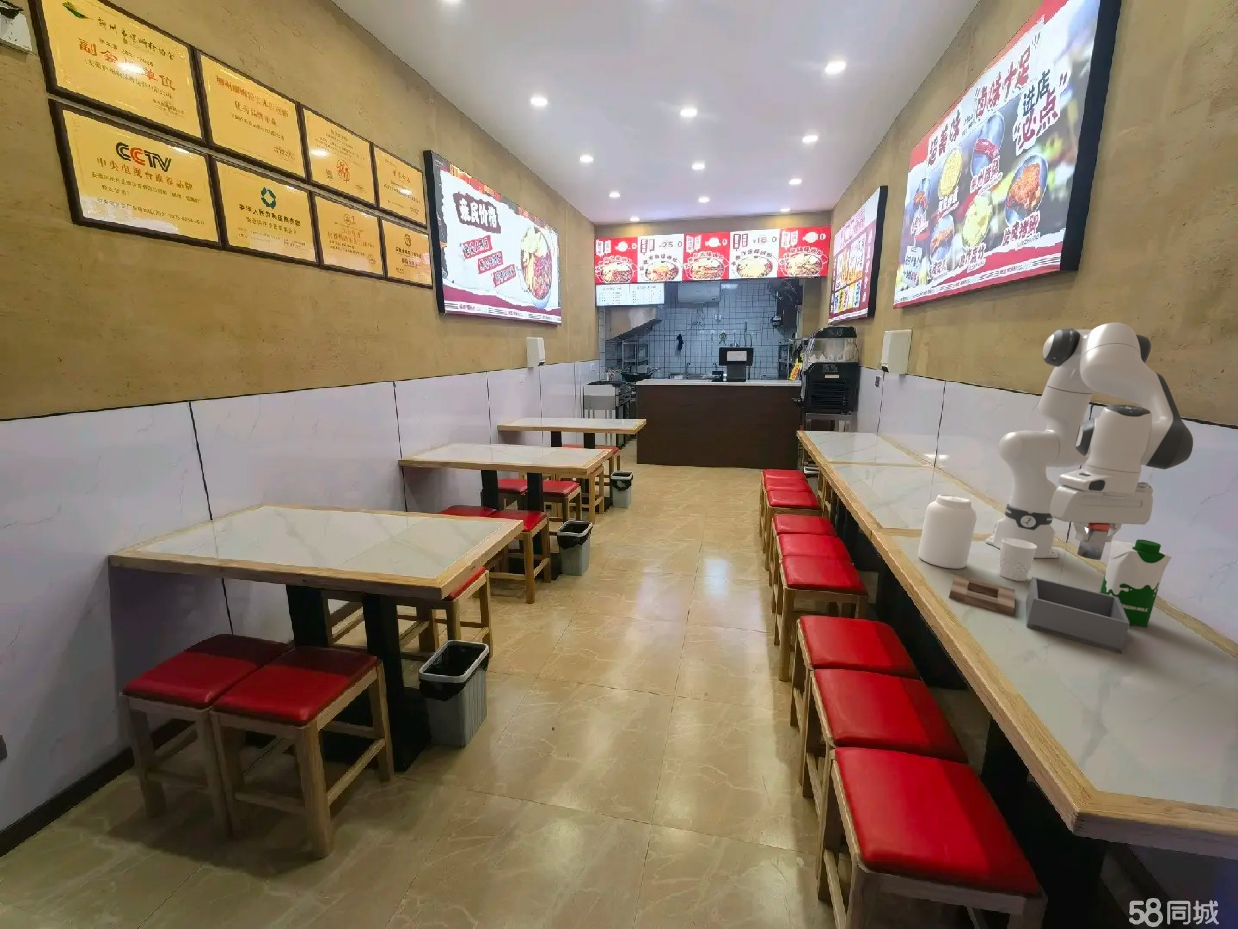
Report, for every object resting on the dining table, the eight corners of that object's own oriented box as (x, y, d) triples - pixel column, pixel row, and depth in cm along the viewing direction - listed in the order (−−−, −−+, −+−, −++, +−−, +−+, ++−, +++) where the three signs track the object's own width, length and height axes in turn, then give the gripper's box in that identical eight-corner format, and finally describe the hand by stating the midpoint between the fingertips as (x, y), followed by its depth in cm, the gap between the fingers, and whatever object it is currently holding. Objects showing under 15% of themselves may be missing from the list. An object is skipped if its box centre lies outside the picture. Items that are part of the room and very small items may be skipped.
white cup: (1035, 584, 141) (1043, 550, 139) (1003, 580, 142) (1011, 546, 140) (1019, 572, 148) (1027, 539, 146) (989, 568, 150) (996, 536, 148)
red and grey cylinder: (1088, 553, 117) (1097, 519, 115) (1105, 560, 113) (1115, 525, 111) (1072, 552, 117) (1080, 519, 115) (1088, 559, 113) (1098, 525, 111)
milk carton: (1107, 622, 121) (1130, 542, 117) (1087, 605, 130) (1108, 530, 125) (1154, 630, 119) (1180, 549, 114) (1131, 612, 127) (1154, 536, 123)
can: (970, 573, 146) (985, 506, 142) (920, 564, 150) (933, 499, 146) (960, 557, 157) (973, 495, 153) (914, 550, 162) (926, 489, 157)
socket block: (953, 581, 140) (955, 574, 139) (1013, 596, 132) (1014, 589, 132) (948, 597, 130) (950, 590, 129) (1012, 615, 122) (1014, 607, 122)
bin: (1025, 602, 129) (1032, 576, 128) (1110, 624, 120) (1118, 597, 119) (1026, 626, 117) (1033, 598, 116) (1120, 653, 108) (1129, 623, 106)
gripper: (1138, 479, 115) (1122, 537, 118) (1051, 475, 114) (1037, 534, 117) (1169, 486, 108) (1151, 547, 112) (1078, 482, 107) (1062, 544, 110)
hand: (1092, 540), depth 114 cm, fingers closed on red and grey cylinder, 4 cm apart
